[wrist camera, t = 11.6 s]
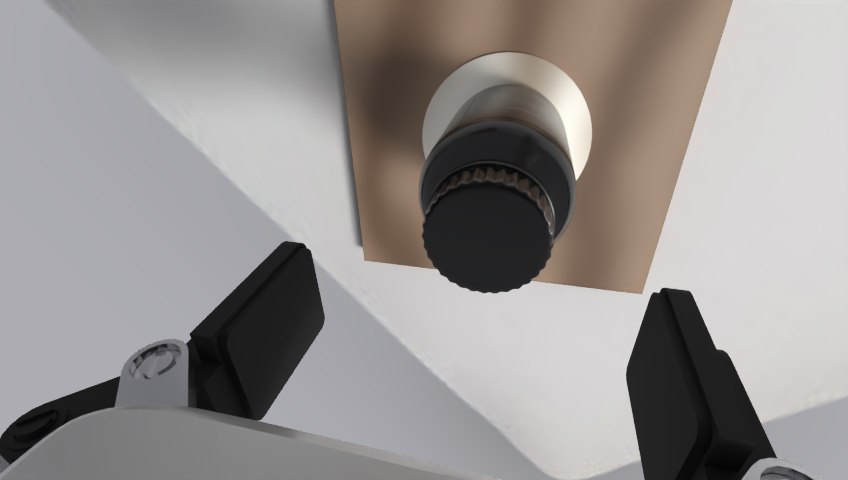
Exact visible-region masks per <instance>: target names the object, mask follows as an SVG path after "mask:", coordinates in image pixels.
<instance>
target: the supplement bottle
mask: <svg viewBox="0 0 848 480" xmlns="http://www.w3.org/2000/svg"><path fill="white" fill-rule="evenodd" d="M576 197H577V192H576V178H575V173H574V168H573V163H572V159H571V154H570V149H569V144H568V140H567V135H566V131H565V127H564V124H563V121H562V118H561V116H560V114H559V112H558V111H557V109H556V108H555V106H554V105H553V104H552V103H551V102H550V101H549V100H548V99H547V98H546V97H545V96H544V95H542V94H541V93H539V92H537V91H535V90H533V89H531V88H528V87H525V86H521V85H515V84H502V85H496V86H492V87H489V88H486V89H484V90H482V91H480V92H478V93H477V94H475V95H474V96H472V97H471V98H470V99H468V100H467V101H466V102H465V103H464V104H463V105H462V107H461V108H460V109H459V110H458V112H457V113H456V114H455V116H454V117H453V119H452V120H451V122H450V123H449V125H448V126H447V128H446V129H445V131H444V132H443V134H442V135H441V137H440V138H439V140H438V141H437V143H436V144H435V146H434V147H433V149H432V150H431V152H430V154H429V156H428V157H427V159H426V162H425V164H424V166H423V169H422V172H421V175H420V180H419V204H420V208H421V212H422V215H423V217H424V221H423V223H422V226H423V232H422V238H423V240H424V245H423V247H424V248H425V250H426V251H427V257H428V258H429V259H430V260H431V261H432V264H433V266H434V267H435V268H436V269H438V270H439V272H440V274H441V275H443V276H445V277H447V278H448V280H449V281H450V282H453V283H456V284H457V285H458V286H460V287H462V288H467V289H469V290H471V291H479V292H482V293H488V292H491V293H498V292H501V291H502V292H508V291H510V290H512V289H519V288H520V287H521V286H522V285H524V284H528V283H530V281H531V280H532V279H533V278H535V277H537V276H538V275H539V273H540V271H541V270H542V269H544V268H545V267H546V263H547V260H549V258H550V257H551V249H552V248H553V246H554V243H556V241H557V240H558V239H559V238H560V237H561V236H562V234H563V233H564V232H565V230H566V229H567V227H568V225H569V223H570V221H571V219H572V216H573V213H574V210H575V205H576Z"/></svg>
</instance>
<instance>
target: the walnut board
mask: <svg viewBox="0 0 848 480" xmlns="http://www.w3.org/2000/svg"><path fill="white" fill-rule="evenodd" d="M732 1H733V0H334V8H335V16H336V24H337V33H338V41H339V50H340V58H341V67H342V75H343V83H344V92H345V100H346V109H347V117H348V125H349V134H350V142H351V151H352V159H353V167H354V176H355V184H356V193H357V201H358V209H359V218H360V226H361V235H362V243H363V251H364V260H365V261H373V262H381V263H389V264H398V265H406V266H414V267H422V268H431V269H436V268H435V267H434V266H433V264H432V261H431V260H430V259H429V258H428V257H427V251H426V250H425V248H424V247H423V245H424V240H423V238H422V232H423V226H422V223H423V221H424V217H423V215H422V212H421V208H420V204H419V180H420V175H421V172H422V169H423V166H424V164H425V162H426V159H427V157H428V156H429V154H430V152H431V150H432V149H433V147H434V146H435V144H436V143H437V141H438V140H439V138H440V137H441V135H442V134H443V132H444V131H445V129H446V128H447V126H448V125H449V123H450V122H451V120H452V119H453V117H454V116H455V114H456V113H457V112H458V110H459V109H460V108H461V107H462V105H463V104H464V103H465V102H466V101H467V100H468V99H470V98H471V97H472V96H474V95H475V94H477V93H478V92H480V91H482V90H484V89H486V88H489V87H492V86H496V85H502V84H515V85H521V86H525V87H528V88H531V89H533V90H535V91H537V92H539V93H541V94H542V95H544V96H545V97H546V98H547V99H548V100H549V101H550V102H551V103H552V104H553V105H554V106H555V108H556V109H557V111H558V112H559V114H560V116H561V118H562V121H563V124H564V127H565V131H566V135H567V140H568V144H569V149H570V154H571V159H572V163H573V168H574V173H575V178H576V192H577V197H576V205H575V210H574V213H573V216H572V219H571V221H570V223H569V225H568V227H567V229H566V230H565V232H564V233H563V234H562V236H561V237H560V238H559V239H558V240H557V241H556V243H554V246H553V248H552V249H551V257H550V258H549V260H547V263H546V267H545V268H544V269H542V270H541V271H540V273H539V275H538V276H537V277H535V278H533V279H532V280H531V281H538V282H546V283H554V284H562V285H571V286H579V287H587V288H595V289H603V290H612V291H620V292H628V293H636V294H642V292H643V289H644V286H645V283H646V279H647V276H648V273H649V270H650V266H651V263H652V260H653V257H654V254H655V250H656V247H657V244H658V241H659V237H660V234H661V231H662V228H663V224H664V221H665V218H666V215H667V211H668V208H669V205H670V202H671V199H672V195H673V192H674V189H675V186H676V182H677V179H678V176H679V173H680V169H681V166H682V163H683V160H684V157H685V153H686V150H687V147H688V144H689V140H690V137H691V134H692V131H693V127H694V124H695V121H696V118H697V114H698V111H699V108H700V105H701V102H702V98H703V95H704V92H705V89H706V85H707V82H708V79H709V76H710V72H711V69H712V66H713V63H714V60H715V56H716V53H717V50H718V47H719V43H720V40H721V37H722V34H723V30H724V27H725V24H726V21H727V17H728V14H729V11H730V8H731V5H732Z"/></svg>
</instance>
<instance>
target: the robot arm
mask: <svg viewBox="0 0 848 480" xmlns="http://www.w3.org/2000/svg"><path fill="white" fill-rule="evenodd" d="M324 319H325V317H324V312H323V306H322V302H321V297H320V292H319V288H318V283H317V278H316V273H315V268H314V263H313V259H312V254H311V251H310V250H309V249H307V248H306V246H305V244H303V243H296V242H288V241H285V242H283V243H281V244H280V245H279V246H278V247H277V249H275V250H274V251H273V252H272V254H270V255H269V256H268V257H267V258H266V259H265V260H264V261H263V262H262V263H261V264H260V265H259V266H258V267H257V268H256V269H255V270H254V271H253V272H252V273H251V274H250V275H249V276H248V277H247V278H246V279H245V280H244V281H243V282H242V283H241V284H240V285H239V286H238V287H237V288H236V289H235V290H234V291H233V292H232V293H231V294H230V295H229V296H228V297H227V298H226V299H224V301H222V302H221V304H219V305H218V306H217V307H216V308H215V309H214V310H213V311H212V312H211V313H210V314H209V315H208V316H207V317H206V318H205V319H204V320H203V321H202V322H201V323H200V324H199V325H198V326H197V327H196V328H195V329H194V330H193V331H192V332H191V333H190V336H191V338H192V339H191V340H190V341H189V342H188V343H187V344H185V343H184V342H183V341H180V340H177V339H166V340H162V341H157V342H154V343H152V344H149V345H147V346H146V347H144V348H142V349H140V350H138V351H137V352H136V353H135V354H133V355H132V356H131V357H130V358H129V359H128V360H127V362H126V363H125V364H124V366H123V369H122V371H121V376H119V377H117V378H114V379H111V380H108V381H106V382H103V383H100V384H98V385H95V386H92V387H89V388H86V389H84V390H81V391H79V392H75V393H73V394H70V395H67V396H65V397H62V398H59V399H57V400H54V401H51V402H48V403H45V404H43V405H41V406H39V407H36V408H34V409H32V410H30V411H29V412H28V413H26V414H24V415H22V416H21V417H20V418H18V419H17V420H16V421H15V422H14V423H12V424H11V425H10V426H9V428H7V430H6V431H5V432H4V433H3V434H2V436H1V438H0V480H503V479H499V478H494V477H491V476H487V475H483V474H478V473H474V472H470V471H466V470H462V469H458V468H454V467H449V466H445V465H441V464H437V463H433V462H429V461H424V460H420V459H416V458H412V457H408V456H404V455H399V454H396V453H391V452H387V451H383V450H379V449H374V448H370V447H366V446H362V445H358V444H353V443H349V442H345V441H341V440H337V439H332V438H328V437H324V436H319V435H315V434H311V433H306V432H302V431H298V430H293V429H289V428H285V427H281V426H276V425H272V424H268V423H264V422H259V421H258V420H261V419H262V418H263V417H264V416H265V414H266V413H267V411H268V410H269V408H270V407H271V405H272V404H273V402H274V400H275V399H276V398H277V396H278V394H279V393H280V391H281V390H282V388H283V387H284V385H285V384H286V382H287V381H288V379H289V378H290V376H291V375H292V373H293V372H294V370H295V368H296V367H297V365H298V364H299V362H300V361H301V359H302V358H303V356H304V355H305V353H306V352H307V350H308V349H309V347H310V345H311V344H312V343H313V341H314V340H315V338H316V336H317V335H318V333H319V332H320V330H321V329H322V327H323V324H324ZM626 380H627V386H628V391H629V397H630V402H631V407H632V413H633V418H634V424H635V429H636V435H637V440H638V445H639V451H640V456H641V462H642V467H643V472H644V478H645V480H824V479H822V478H821V477H820V476H818V475H817V474H816V473H814V472H812V471H810V470H808V469H807V468H805V467H803V466H801V465H799V464H796V463H793V462H790V461H788V460H784V459H777V457H776V455H775V453H774V451H773V448H772V446H771V444H770V442H769V440H768V438H767V436H766V433H765V431H764V429H763V427H762V425H761V423H760V420H759V418H758V416H757V414H756V412H755V410H754V408H753V406H752V403H751V401H750V399H749V397H748V395H747V393H746V391H745V388H744V386H743V384H742V382H741V380H740V378H739V376H738V373H737V371H736V369H735V367H734V365H733V363H732V361H731V359H730V357H729V355H728V354H727V353H726V352H725V351H723V350H717V349H716V348H715V345H714V343H713V341H712V339H711V336H710V334H709V332H708V329H707V327H706V325H705V323H704V320H703V318H702V316H701V314H700V311H699V309H698V307H697V305H696V302H695V300H694V298H693V295H692V294H691V292H690V291H686V290H678V289H670V288H662V289H661V291H660V293H655V292H654V293H652V295H651V297H650V300H649V303H648V306H647V309H646V312H645V315H644V318H643V321H642V324H641V327H640V330H639V333H638V336H637V339H636V342H635V345H634V348H633V351H632V354H631V357H630V360H629V363H628V366H627V371H626Z"/></svg>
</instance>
